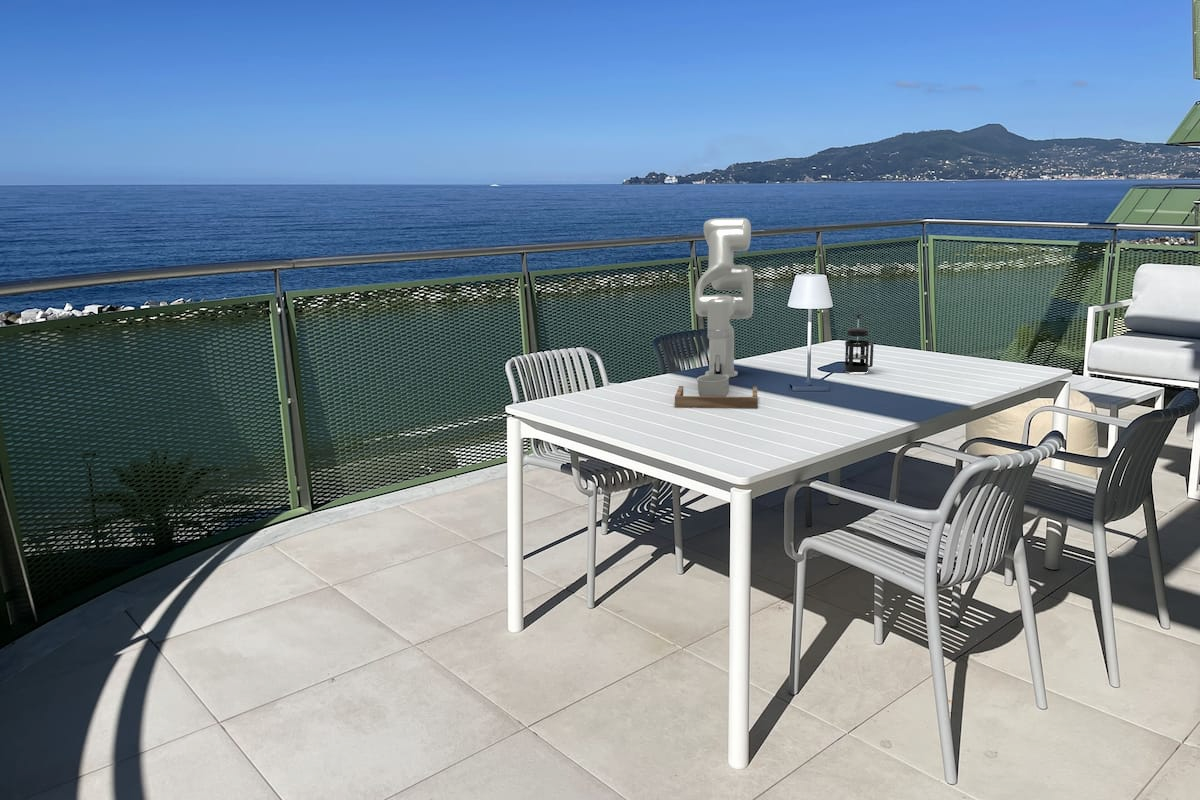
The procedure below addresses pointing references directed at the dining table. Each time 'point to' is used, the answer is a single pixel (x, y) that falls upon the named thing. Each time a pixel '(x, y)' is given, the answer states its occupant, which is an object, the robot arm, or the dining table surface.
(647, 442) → the dining table surface
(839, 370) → the dining table surface
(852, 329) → the french press
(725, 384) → the teacup
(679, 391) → the walnut bay
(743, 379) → the dining table surface
